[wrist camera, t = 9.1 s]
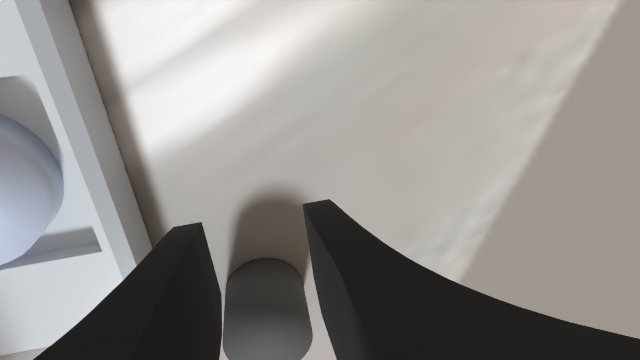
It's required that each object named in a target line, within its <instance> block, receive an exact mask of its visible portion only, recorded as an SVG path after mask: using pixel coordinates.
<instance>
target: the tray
mask: <svg viewBox="0 0 640 360" xmlns="http://www.w3.org/2000/svg"><path fill="white" fill-rule="evenodd" d="M0 114H1V115H3V116H6V117H8V118H10V119H12V120H14V121H16V122H18V123H19V124H21V125H23V126H24V127H26V128H27V129H29V130H30V131H31V132H32V133H34V134H35V135H36V136H37V137H38V138H39V139H40V140H41V141H42V142H43V143H44V144H45V145H46V146H47V147H48V149H49V150H50V151H51V153H52V154H53V156H54V157H55V159H56V161H57V163H58V165H59V167H60V170H61V173H62V177H63V183H64V196H63V202H62V205H61V207H60V210H59V212H58V213H57V215H56V217H55V218H54V219H53V221H52V222H51V223H50V224H49V226H48V227H47V228H46V229H45V231H44V232H43V233H42V234H41V236H40V237H39V238H38V239H37V241H36V242H35V243H34V244H33V246H32V247H31V248H30V249H29V250H28V251H26V252H25V253H24V254H22V255H21V256H20V257H18V258H16V259H14V260H12V261H10V262H8V263H5V264H2V265H0V356H2V355H7V354H12V353H17V352H22V351H27V350H32V349H37V348H42V347H47V346H51V345H52V344H53V343H55V342H56V341H57V340H58V339H60V338H61V337H62V336H63V335H65V334H66V333H67V332H68V331H69V330H70V329H72V328H73V327H74V326H75V325H76V324H77V323H79V322H80V321H81V320H82V319H83V318H84V317H85V316H86V315H87V314H89V313H90V312H91V311H92V310H93V309H94V308H95V307H96V306H97V305H98V304H99V303H100V302H101V301H102V300H103V299H104V298H105V297H106V296H107V295H108V294H109V293H110V292H111V291H112V290H114V289H115V288H116V287H117V286H118V285H119V284H120V283H121V282H122V281H123V280H124V279H125V278H126V277H127V276H128V275H129V274H130V273H131V271H132V270H133V269H134V268H135V267H136V266H137V265H138V264H139V263H140V262H141V261H142V260H143V259H144V258H145V257H146V256H147V254H148V253H149V252H150V251H151V250H152V249H153V248H152V245H151V242H150V239H149V236H148V233H147V230H146V227H145V225H144V222H143V219H142V216H141V213H140V210H139V207H138V204H137V201H136V198H135V195H134V192H133V189H132V186H131V183H130V180H129V177H128V175H127V172H126V169H125V166H124V163H123V160H122V157H121V154H120V151H119V148H118V145H117V142H116V139H115V136H114V133H113V130H112V127H111V125H110V122H109V119H108V116H107V113H106V110H105V107H104V104H103V101H102V98H101V95H100V92H99V89H98V86H97V83H96V80H95V77H94V74H93V72H92V69H91V66H90V63H89V60H88V57H87V54H86V51H85V48H84V45H83V42H82V39H81V36H80V33H79V30H78V27H77V24H76V22H75V19H74V16H73V13H72V10H71V7H70V4H69V1H68V0H0Z"/></svg>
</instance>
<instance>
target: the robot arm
mask: <svg viewBox="0 0 640 360" xmlns="http://www.w3.org/2000/svg"><path fill="white" fill-rule="evenodd" d="M303 209H304V216H305V222H306V229H307V236H308V242H309V249H310V256H311V262H312V269H313V275H314V281H315V285H316V290H317V295H318V299H319V304H320V309H321V313H322V317H323V320H324V323H325V326H326V329H327V332H328V335H329V338H330V340H331V343H332V346H333V349H334V352H335V355H336V358H337V360H640V339H637V338H633V337H629V336H624V335H620V334H616V333H612V332H608V331H604V330H599V329H595V328H591V327H587V326H582V325H579V324H575V323H570V322H567V321H563V320H560V319H556V318H553V317H550V316H547V315H544V314H540V313H537V312H534V311H531V310H527V309H524V308H521V307H518V306H515V305H512V304H509V303H507V302H504V301H501V300H498V299H495V298H492V297H490V296H487V295H485V294H483V293H480V292H478V291H475V290H472V289H470V288H468V287H465V286H463V285H460V284H458V283H456V282H454V281H451V280H449V279H447V278H445V277H443V276H441V275H439V274H437V273H435V272H433V271H431V270H429V269H427V268H425V267H423V266H421V265H419V264H417V263H416V262H414V261H412V260H410V259H409V258H407V257H405V256H404V255H402V254H400V253H399V252H397V251H396V250H394V249H392V248H391V247H389V246H388V245H386V244H385V243H383V242H382V241H381V240H379V239H378V238H377V237H375V236H374V235H373V234H371V233H370V232H368V231H367V230H366V229H364V228H363V227H362V226H361V225H359V224H358V223H357V222H356V221H354V220H353V219H352V218H351V217H350V216H348V215H347V214H346V213H345V212H344V211H343V210H342V209H340V208H339V207H338V206H337V205H336V204H335V203H334V202H332V201H331V200H329V199H328V200H323V201H317V202H311V203H306V204H303ZM221 338H222V303H221V292H220V288H219V284H218V281H217V277H216V273H215V270H214V266H213V262H212V259H211V255H210V251H209V248H208V244H207V240H206V237H205V233H204V229H203V226H202V222H199V223H194V224H188V225H183V226H177V227H173V228H172V229H171V230H170V231H169V232H168V233H167V234H166V235H165V236H164V237H163V238H162V239H161V240H160V241H159V243H158V244H157V245H156V246H155V247H154V248H153V249H152V250H151V251H150V252H149V253H148V254H147V256H146V257H145V258H144V259H143V260H142V261H141V262H140V263H139V264H138V265H137V266H136V267H135V268H134V269H133V270H132V271H131V273H130V274H129V275H128V276H127V277H126V278H125V279H124V280H123V281H122V282H121V283H120V284H119V285H118V286H117V287H116V288H115V289H114V290H112V291H111V292H110V293H109V294H108V295H107V296H106V297H105V298H104V299H103V300H102V301H101V302H100V303H99V304H98V305H97V306H96V307H95V308H94V309H93V310H92V311H91V312H90V313H89V314H87V315H86V316H85V317H84V318H83V319H82V320H81V321H80V322H79V323H77V324H76V325H75V326H74V327H73V328H72V329H70V330H69V331H68V332H67V333H66V334H65V335H63V336H62V337H61V338H60V339H58V340H57V341H56V342H55V343H53V344H52V345H51V346H50V347H48V348H47V349H46V350H45V351H43V352H42V353H41V354H40V355H38V356H37V357H36V358H35V359H33V360H219V356H220V347H221Z"/></svg>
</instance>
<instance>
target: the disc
mask: <svg viewBox="0 0 640 360" xmlns="http://www.w3.org/2000/svg"><path fill="white" fill-rule="evenodd" d="M63 196H64V183H63V177H62V173H61V170H60V167H59V165H58V163H57V161H56V159H55V157H54V156H53V154H52V153H51V151H50V150H49V149H48V147H47V146H46V145H45V144H44V143H43V142H42V141H41V140H40V139H39V138H38V137H37V136H36V135H35V134H34V133H32V132H31V131H30V130H29V129H27V128H26V127H24V126H23V125H21V124H19V123H18V122H16V121H14V120H12V119H10V118H8V117H6V116H3V115H1V114H0V265H2V264H5V263H8V262H10V261H12V260H14V259H16V258H18V257H20V256H21V255H22V254H24V253H25V252H26V251H28V250H29V249H30V248H31V247H32V246H33V244H34V243H35V242H36V241H37V239H38V238H39V237H40V236H41V234H42V233H43V232H44V231H45V229H46V228H47V227H48V226H49V224H50V223H51V222H52V221H53V219H54V218H55V217H56V215H57V213H58V212H59V210H60V207H61V205H62V202H63Z"/></svg>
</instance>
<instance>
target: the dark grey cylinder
mask: <svg viewBox="0 0 640 360" xmlns="http://www.w3.org/2000/svg"><path fill="white" fill-rule="evenodd" d="M312 337H313V334H312V327H311V322H310V317H309V312H308V307H307V302H306V297H305V292H304V287H303V282H302V278H301V276H300V274H299V273H298V271H297V270H296V269H295V268H294V267H293V266H291V265H290V264H288V263H286V262H284V261H281V260H278V259H271V258H263V259H257V260H253V261H250V262H247V263H245V264H243V265H242V266H240V267H239V268H238V269H237V270H235V271H234V273H233V274H232V275H231V276H230V278H229V280H228V282H227V285H226V293H225V310H224V328H223V349H224V352H225V354H226V356H227V358H228V359H229V360H301V359H302V358H303V357H304V356H305V354H306V353H307V352H308V350H309V348H310V346H311V343H312Z"/></svg>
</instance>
